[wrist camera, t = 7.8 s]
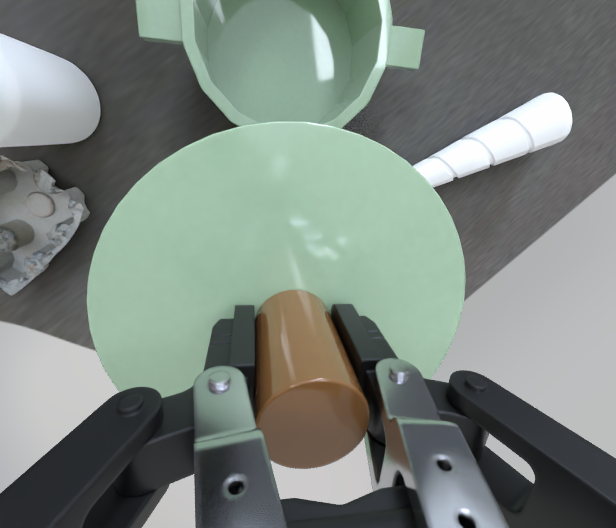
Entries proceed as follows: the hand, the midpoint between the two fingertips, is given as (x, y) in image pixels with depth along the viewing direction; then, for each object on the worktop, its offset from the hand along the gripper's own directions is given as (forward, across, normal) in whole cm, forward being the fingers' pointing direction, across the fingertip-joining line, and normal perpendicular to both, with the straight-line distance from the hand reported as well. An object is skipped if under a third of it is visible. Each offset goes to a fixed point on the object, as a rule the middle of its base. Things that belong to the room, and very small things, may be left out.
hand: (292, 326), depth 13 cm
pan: (+22, -1, -13) cm, 25 cm away
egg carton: (+22, +21, +2) cm, 31 cm away
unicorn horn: (+22, -17, -5) cm, 28 cm away
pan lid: (+1, 0, 0) cm, 1 cm away
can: (+22, +17, -8) cm, 29 cm away
